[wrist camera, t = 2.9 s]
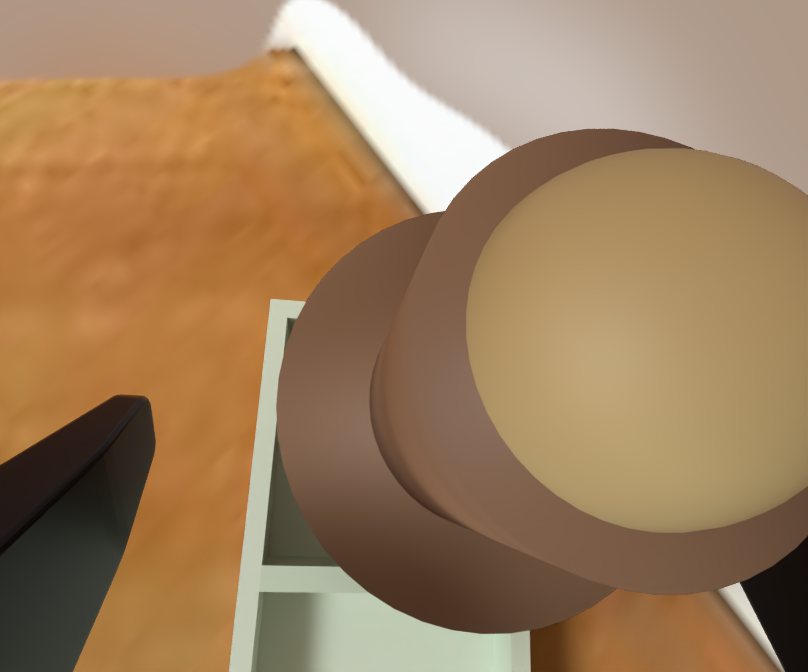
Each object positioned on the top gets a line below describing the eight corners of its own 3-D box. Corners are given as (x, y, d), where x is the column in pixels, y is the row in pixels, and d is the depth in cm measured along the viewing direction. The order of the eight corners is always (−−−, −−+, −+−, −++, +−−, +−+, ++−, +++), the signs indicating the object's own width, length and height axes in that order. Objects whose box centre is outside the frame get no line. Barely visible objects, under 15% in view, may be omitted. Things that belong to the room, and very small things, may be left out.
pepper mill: (496, 484, 16) (1503, 570, 2) (346, 561, 15) (582, 1643, 1) (427, 339, 17) (867, -231, 3) (280, 401, 15) (-33, -69, 2)
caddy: (505, 862, 14) (535, 925, 12) (215, 879, 13) (197, 951, 11) (501, 336, 17) (524, 320, 16) (276, 318, 16) (270, 298, 15)
